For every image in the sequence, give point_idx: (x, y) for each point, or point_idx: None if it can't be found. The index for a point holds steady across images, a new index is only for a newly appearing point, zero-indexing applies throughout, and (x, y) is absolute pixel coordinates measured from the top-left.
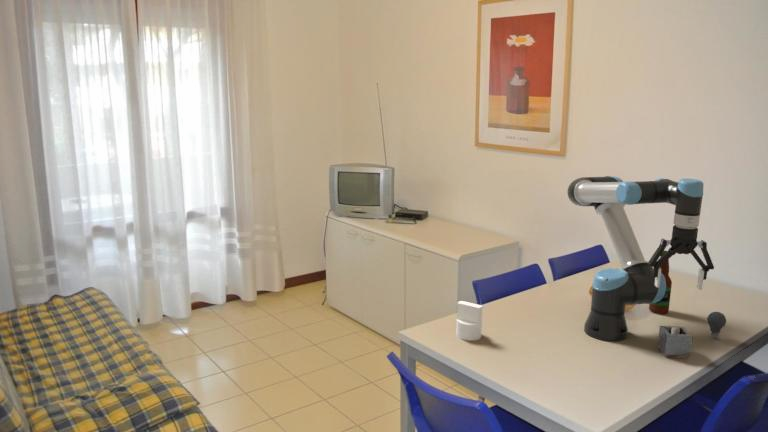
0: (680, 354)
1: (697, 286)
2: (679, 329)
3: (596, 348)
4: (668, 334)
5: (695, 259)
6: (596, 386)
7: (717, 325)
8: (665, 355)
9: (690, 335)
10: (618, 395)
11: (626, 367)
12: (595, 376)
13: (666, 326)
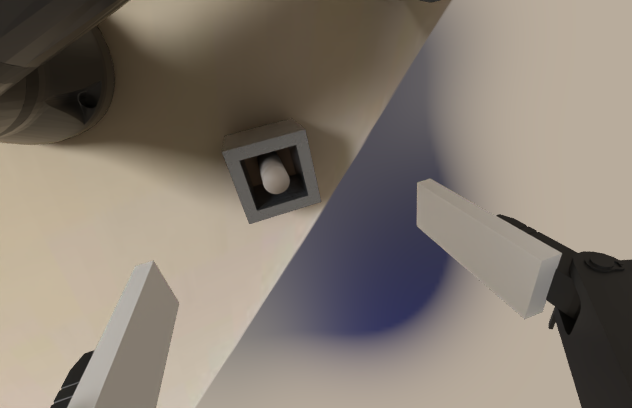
0: None
1: (421, 197)
2: (288, 184)
3: (47, 210)
4: (253, 218)
5: (630, 391)
6: None
7: (425, 1)
8: None
9: (316, 197)
10: (173, 376)
11: None
12: None
13: (246, 150)
